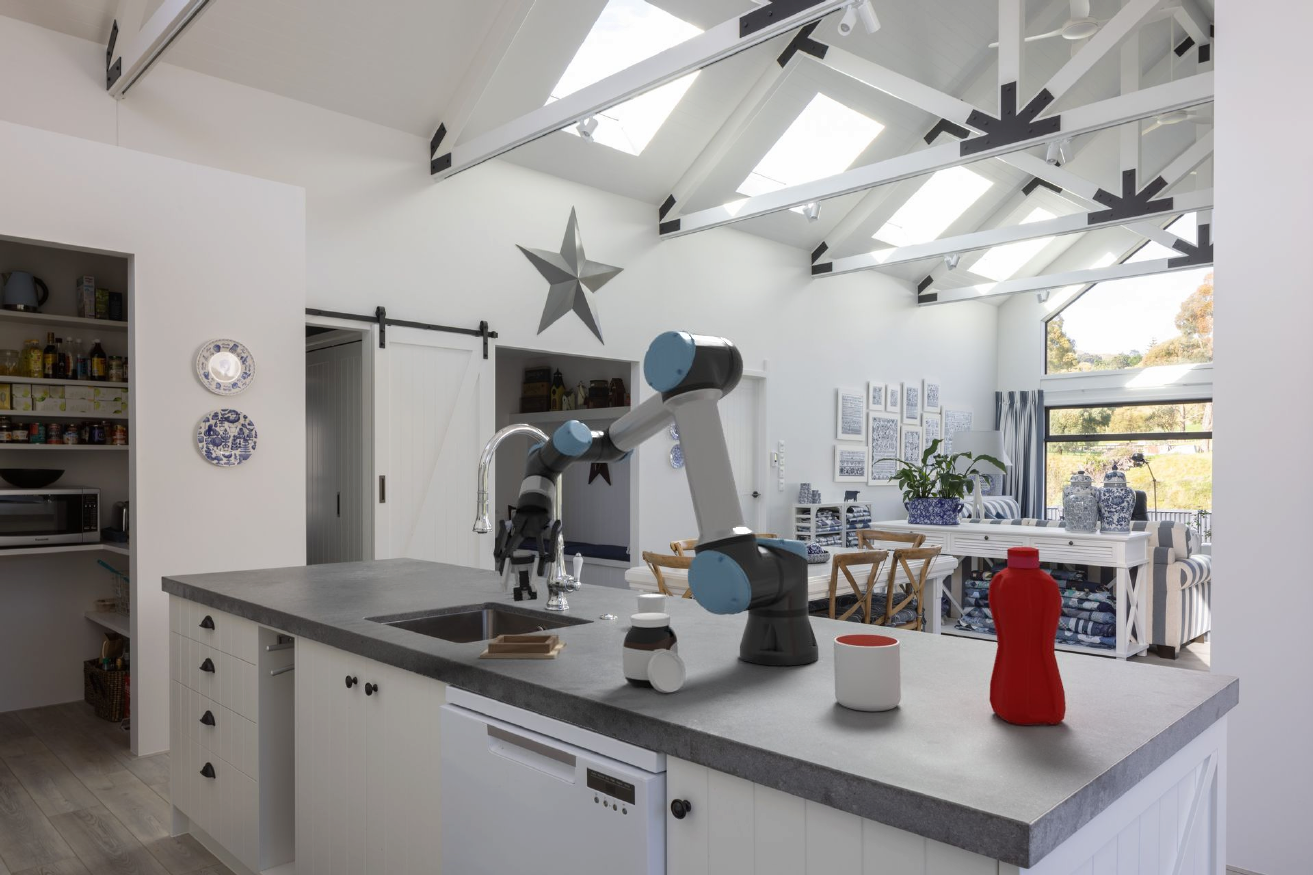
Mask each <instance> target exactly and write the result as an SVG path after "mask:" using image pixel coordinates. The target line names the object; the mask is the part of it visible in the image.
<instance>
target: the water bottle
mask: <svg viewBox="0 0 1313 875" xmlns="http://www.w3.org/2000/svg"><path fill="white" fill-rule="evenodd" d="M1006 554H1007V555H1006V560H1007V567H1006V568H1003V569H1001V570H1000V571H998V572H997V573H996V574H995V575H994V576H992V579H991V580H990V582H989V587H988V595H987V602H988V606H989V610H990V613H991V617H992V621H993V625H994V630H995V634H996V643H997V644H996V645H997V648H996V652H995V653H996V654H995V659H994V664H993V667H992V668H993V669H992V673H991V678H990V682H989V683H990V684H989V703H990V706H991V709H992V711H993V713H994V714H995V715H997V716H998V717H1000V718H1001V719H1003V720H1004V721H1006V722H1007V723H1010V724H1014V725H1018V726H1033V725H1037V726H1038V725H1041V726H1043V725H1052V726H1053V725H1057V724H1059V723H1061V722H1062V721H1063V720H1064V719H1065V715H1066V711H1067V708H1066V694H1065V689H1064V685H1063V681H1062V677H1061V673H1060V668H1059V665H1058V661H1057V658H1056V654H1055V651H1056V650H1055V649H1056V648H1055V644H1056V643H1055V642H1056V641H1055V640H1056V635H1057V631H1058V627H1059V623H1060V622H1059V621H1060V617H1061V615H1062V614H1061V613H1062V607H1063V606H1062V605H1063V598H1062V595H1061V592H1060V586H1059V583H1058V582H1057V581H1056V580H1055V579H1054V578H1053V576H1052V575H1050V574H1049V573H1047V572H1046V571H1044V570H1043V569H1041V568H1040V548H1039V549H1038V548H1037V547H1036V548H1035V547H1032V546H1013V547H1011V548H1007V549H1006Z"/></svg>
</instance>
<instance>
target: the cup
mask: <svg viewBox="0 0 1313 875" xmlns="http://www.w3.org/2000/svg"><path fill="white" fill-rule="evenodd" d="M900 643H901V642H900V641H899V639H897V638H894V637H893V636H892V637H891V636H888V635H881V634H871V633H869V634H868V633H855V634H854V633H853V634H845V635H839V636H837V637H835V638H834V639H833V659H834V663H833V665H834V667H833V668H834V696H835V699H836V701H837V702H838V704H840V705H841V706H843V707H845V708H848V709H851V710H854V711H860V712H861V711H862V712H884V711H888V710H892V709H894V708H896V707H897V706H898V705H899V704H900V702H901V700H902V691H901V690H902V688H901V685H902V684H901V645H900Z"/></svg>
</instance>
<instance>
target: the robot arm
mask: <svg viewBox="0 0 1313 875" xmlns="http://www.w3.org/2000/svg"><path fill="white" fill-rule="evenodd" d="M642 367H643V369H642V370H643V376H644V379H645V381H646V383H647V385H648V386H649V387H651V388H652V389H653V390H654V391H655V392H656V393H655V394H653V395H652V396H651V397H648V398H647V399H646V400H645V401H643V402H642V403H640V404H639V405H638V406H636V407H634V408H633V409H631V410H630V411H629V412H627V413H625V414H624V415H623V416H621V417H619V418H618V419H617V420H616V421H614V422H612V423H611V424H610V425H608V426H607V427H605V428H603V429H590V428H589V427H588V426H587V425H586V424H584V423H583V422H580V421H578V420H575V419H574V420H573V419H572V420H568V421H566V422H565V423H564V424H563V425H561V426H560V427H558V428H557V429H556V430H555V432H554V433H553V434H552V435H550V437H549V438H548V439H547V440H546V441H545V442H540V443H538V444H534V445H533V446H532V447H531V448H530V449H529V451H528V453H527V454H528V455H527V456H526V460H525V467H524V470H523V471H524V472H523V475H522V476H523V478H522V482H521V486H520V490H519V496H518V500H517V504H516V509H515V513H514V516H513V517H512V518H511V519H510V520H507V521H505V520H504V519H500V520H499V521H498V524H499V530H498V534H497V539H496V541H495V545H494V549H493V554H492V555H493V558H494V561H495V563H496V564H498V563H499V568H498V572H499V575H500V577H501V581H500V586H501V589H502V592H505V593H506V592H508V588H509V583H510V582H509V581H510V577H511V573H512V568H513V565H512V564H511V559H509V557H511V556H513V555H514V553H513V552H514V551H518V548H519V547H520V544H521V543H523V542H524V539H525V538H529V537H530V538H535V539H536V546H537V553H538V557H535V561H534V563H533V566H532V577H531V583H530V582H529V583H530V584H531V588H532V592H536V590H537V591H538V582H539V578H540V577H543V576H545V570H546V565H547V564H548V563H552V564H554V563H555V562H556V559H557V553H558V552H557V551H558V544H559V535H560V534H561V532H562V530H563V524H562V521H561V519H559V518H557V519H555V520H552V519H551V513H552V508H553V501H554V497H555V490H556V486H557V481H558V477H560V476H561V475H562V474H563V473H564V472H565V471H566V470H567V469H568V468H570V466H572V465H573V464H579V463H580V464H587V463H588V464H589V463H592V464H593V463H594V464H595V463H597V464H598V463H602V464H603V463H605V464H606V463H610V464H617V463H622V462H627V461H628V460H629V459H630V458H631V457H632V454H634V451H635V449H636V448H637V447H639V446H640V445H642V444H643V443H645V442H647V441H648V440H650V439H651V438H652V437H654V436H656V435H657V434H659V433H660V432H662V431H664V430H665V429H667V428H668V427H670V426H671V425H674V424H675V427H676V431H677V432H676V433H677V437H678V441H679V446H680V451H681V456H682V460H683V465H684V469H685V473H686V479H687V483H688V487H689V492H690V497H691V502H692V506H693V511H694V516H695V521H696V525H697V529H698V533H699V535H698V538H697V540H696V541H695V543H694V544H693V549H694V554H695V556H694V557H693V558H692V559H691V561H690V564H689V566H690V567H689V568H688V570H687V584H688V588H689V590H690V593H691V595H692V596H693V598H694V600H695V602H697V604H698V605H699V606H700V607H701V608H704V609H705V610H706V611H707V612H709V613H712V614H713V615H719V616H722V615H723V616H725V615H736V614H741V613H743V612H747V613H748V614H747V620H746V624H745V626H744V627H745V628H744V631H743V633H742V637H741V640H740V644H739V658H740V659H741V660H743V661H746V662H749V663H752V664H758V665H765V666H778V667H779V666H798V665H799V666H800V665H806V664H811V663H814V662H816V661H817V660H818V659H819V645H818V642H817V639H816V637H815V633H814V630H813V627H812V625H811V621H810V617H809V616H810V615H809V572H808V571H809V570H808V569H809V558H808V548H807V546H806V544H805V543H804V542H803V541H801V540H796V539H795V540H794V539H787V538H786V539H781V538H772V537H770V538H769V537H759V536H758V537H756V533H755V531H753V530H751V529H750V528H748V527H747V526H746V525H745V520H744V517H743V511H742V507H741V504H740V499H739V495H738V490H737V486H736V482H735V476H734V473H733V468H732V464H731V460H730V455H729V451H728V446H727V441H726V438H725V434H724V428H723V425H722V421H721V416H720V412H719V407H718V403H719V400H722V399H723V398H724V397H726V396H727V395H730V393H732V392H733V390H734V389H735V388H737V386H738V385H739V383H740V381H741V379H742V377H743V371H744V361H743V358H742V354H741V352H740V350H739V349H738V347H736V345H735V344H734V343H732V341H730V340H728V338H727V339H726V338H724V337H721V336H716V335H707V334H702V333H694V332H688V331H685V330H679V331H677V330H670V331H669V330H667V331H665V332H662V333H660V334H659V335H657V336H656V337H655V338H654V339H653V341H651V343H650V344H649V346H648V349H647V351H646V352H645V355H644V359H643V365H642ZM512 527H513V528H514V530H513V535H512V536H511V538H510V540H509V541H508V543H507V540H508V534H509V533H510V530H511V528H512ZM549 527H550V536H549V537H550V538H549V544H548V551H547V553H546V551H545V544H544V538H543V533H544V532H545V531H546V530H547V529H548V528H549ZM506 543H507V545H506Z"/></svg>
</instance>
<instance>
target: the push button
mask: <svg viewBox="0 0 1313 875" xmlns="http://www.w3.org/2000/svg"><path fill="white" fill-rule="evenodd" d="M513 553H514V555H513V556H511V557H509V559H511V565H512V566H514V579H515V580H514V581H515V583H514V584H513V585H514V587H513V589H512V593H505V594H504V595H505V596H509V595H513V597H511V598H509V597H508V598H506V600H513V601H514V602H524V601H531V600H532V601H535V600H537V599H538V589H537V590H536V592H532V588H531V584H530V583H531V577H532V572H533V564H534V561H535V558H537V557H536V554H534V553H532V550H530V549H524V550H523V549H522V550H520V549H519V550H516V551H514V552H513Z"/></svg>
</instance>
